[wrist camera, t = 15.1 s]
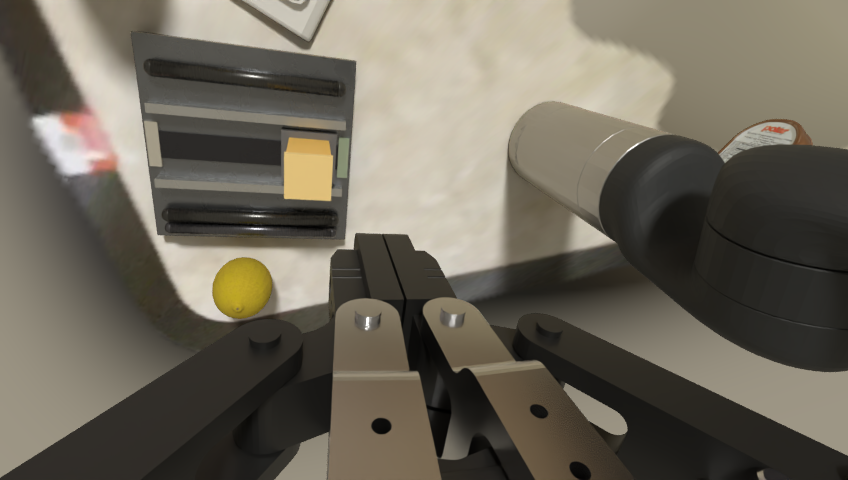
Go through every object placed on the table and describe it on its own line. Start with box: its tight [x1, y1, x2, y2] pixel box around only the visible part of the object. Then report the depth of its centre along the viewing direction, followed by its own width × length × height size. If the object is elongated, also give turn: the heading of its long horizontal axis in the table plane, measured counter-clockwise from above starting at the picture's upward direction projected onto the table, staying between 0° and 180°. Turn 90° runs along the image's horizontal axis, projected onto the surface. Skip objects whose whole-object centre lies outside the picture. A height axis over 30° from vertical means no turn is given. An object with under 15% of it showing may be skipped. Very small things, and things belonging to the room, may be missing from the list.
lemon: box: [212, 257, 272, 319], centre depth 43 cm, size 6×6×8 cm
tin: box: [718, 119, 813, 163], centre depth 52 cm, size 15×3×8 cm, turn 138°
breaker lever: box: [281, 129, 337, 201], centre depth 38 cm, size 5×5×7 cm
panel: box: [131, 31, 356, 239], centre depth 40 cm, size 18×18×3 cm
